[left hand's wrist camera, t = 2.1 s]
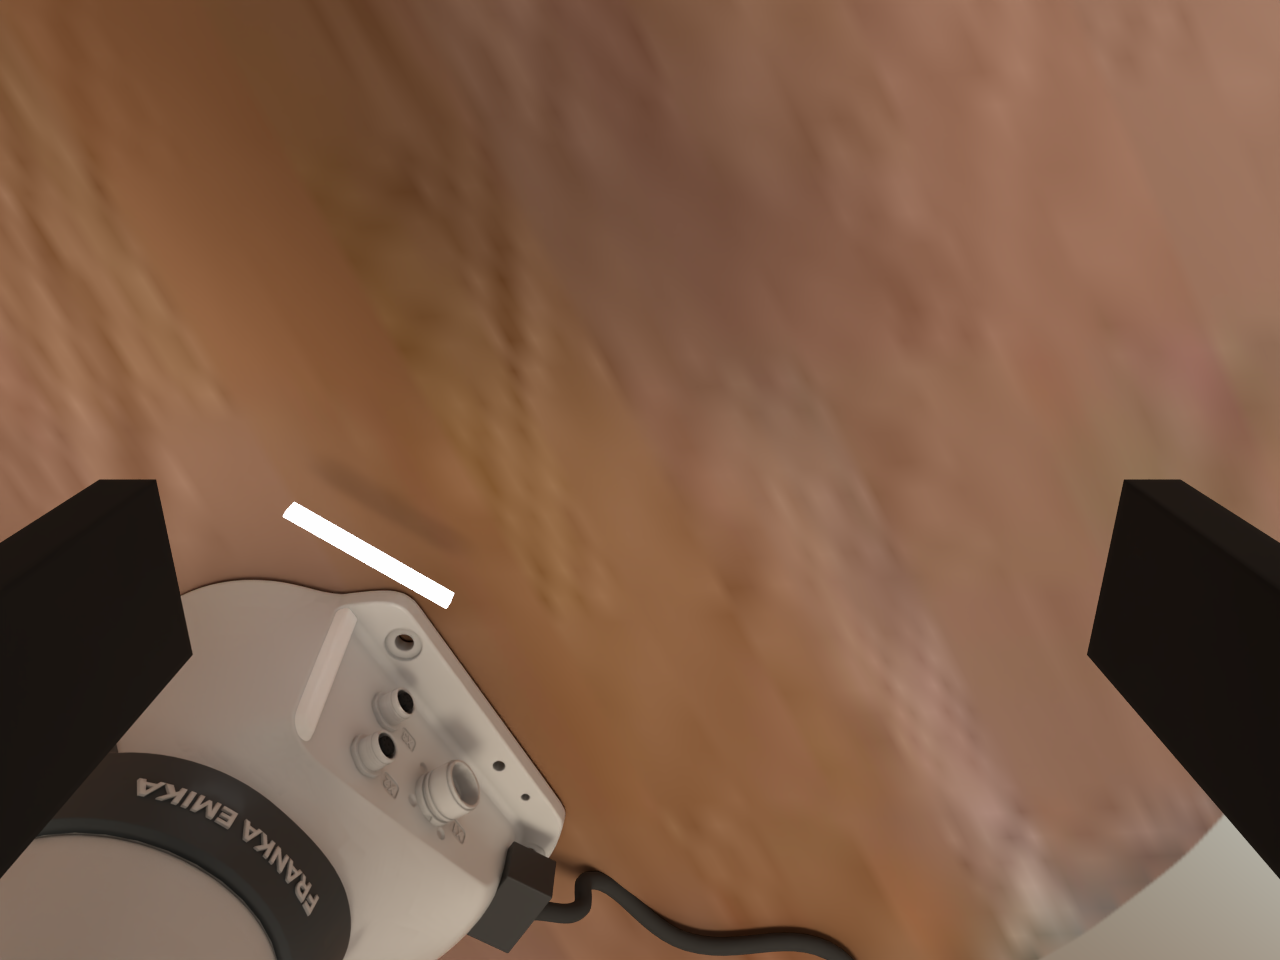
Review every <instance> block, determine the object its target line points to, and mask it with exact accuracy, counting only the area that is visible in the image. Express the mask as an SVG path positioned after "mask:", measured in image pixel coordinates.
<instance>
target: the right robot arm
mask: <svg viewBox="0 0 1280 960" xmlns="http://www.w3.org/2000/svg"><path fill="white" fill-rule="evenodd" d="M283 517H285V518H286V519H288V520H290V521H292V522H293V523H295V524H297V525H299V526H300V527H302V528H304V529H306V530H308V531H309V532H311V533H313V534H315V535H316V536H318V537H320V538H322V539H323V540H325V541H327V542H329V543H331V544H332V545H334V546H336V547H338V548H339V549H341V550H343V551H345V552H346V553H348V554H350V555H352V556H354V557H355V558H357V559H359V560H361V561H362V562H364V563H366V564H368V565H369V566H371V567H373V568H375V569H377V570H378V571H380V572H382V573H384V574H385V575H387V576H389V577H391V578H393V579H394V580H396V581H398V582H400V583H401V584H403V585H405V586H407V587H408V588H410V589H412V590H414V591H416V592H417V593H419V594H421V595H423V596H424V597H426V598H428V599H430V600H431V601H433V602H435V603H437V604H439V605H440V606H442V607H444V608H446V609H447V607H448V606H449V604H450V602H451V600H452V597H453V595H454V593H453V592H451V591H450V590H448V589H446V588H444V587H443V586H441V585H439V584H437V583H436V582H434V581H432V580H430V579H429V578H427V577H425V576H423V575H422V574H420V573H418V572H416V571H415V570H413V569H411V568H409V567H408V566H406V565H404V564H402V563H401V562H399V561H397V560H395V559H394V558H392V557H390V556H388V555H387V554H385V553H383V552H381V551H380V550H378V549H376V548H374V547H373V546H371V545H369V544H367V543H365V542H364V541H362V540H360V539H358V538H357V537H355V536H353V535H351V534H350V533H348V532H346V531H344V530H343V529H341V528H339V527H337V526H336V525H334V524H332V523H330V522H329V521H327V520H325V519H323V518H322V517H320V516H318V515H316V514H315V513H313V512H311V511H309V510H308V509H306V508H304V507H302V506H301V505H299V504H297V503H295V502H294V503H293V504H292V505H291V506H290V507H289V508H288V509H287V510H286V512H285V513H284V515H283ZM181 601H182V605H183V610H184V615H185V619H186V624H187V629H188V634H189V638H190V643H191V648H192V653H193V655H192V656H191V658H190V659H189V660H188V661H187V662H186V663H185V665H184V666H183V667H182V668H181V669H180V670H179V672H178V673H177V674H176V675H175V676H174V677H173V679H172V680H171V681H170V682H169V683H168V684H167V685H166V687H165V688H164V689H163V690H162V691H161V692H160V694H159V695H158V696H157V697H156V698H155V699H154V701H153V702H152V703H151V704H150V705H149V706H148V708H147V709H146V710H145V711H144V712H143V713H142V715H141V716H140V717H139V718H138V719H137V720H136V722H135V723H134V724H133V725H132V726H131V727H130V729H129V730H128V731H127V732H126V733H125V734H124V736H123V737H122V738H121V739H120V740H119V741H118V742H117V744H116V745H115V746H114V747H113V748H112V749H111V751H110V752H109V753H108V754H107V755H106V756H105V758H104V759H103V760H102V761H101V762H100V763H99V765H98V766H97V767H96V768H95V769H94V770H93V772H92V773H91V774H90V775H89V776H88V777H87V779H86V780H85V781H84V782H83V783H82V784H81V786H80V787H79V788H78V789H77V790H76V791H75V793H74V794H73V795H72V796H71V797H70V798H69V799H68V801H67V802H66V803H65V804H64V805H63V806H62V808H61V809H60V810H59V811H58V812H57V813H56V815H55V816H54V817H53V818H52V819H51V820H50V822H49V823H48V824H47V825H46V826H45V827H44V829H43V830H42V831H41V832H40V833H39V834H38V836H37V837H36V838H35V839H34V840H33V841H32V843H31V844H30V845H29V846H28V847H27V848H26V850H25V851H24V852H23V853H22V854H21V855H20V856H19V858H18V859H17V860H16V861H15V862H14V863H13V865H12V866H11V867H10V868H9V869H8V870H7V872H6V873H5V874H4V875H3V876H2V877H1V879H0V960H437V959H439V958H440V957H441V956H443V955H444V954H445V953H446V952H448V951H449V950H450V949H451V948H452V947H453V946H454V945H456V944H457V943H458V942H459V941H460V940H461V939H462V938H463V937H464V936H465V935H466V934H467V935H469V936H471V937H474V938H476V939H478V940H480V941H482V942H484V943H487V944H489V945H491V946H493V947H495V948H497V949H499V950H502V951H504V952H506V953H509V951H510V950H511V949H512V948H513V946H514V945H515V944H516V943H517V941H518V940H519V939H520V938H521V936H522V935H523V934H524V933H525V931H526V930H527V929H528V927H529V926H530V925H531V924H532V922H533V921H534V920H539V921H548V922H555V923H573V922H577V921H579V920H581V919H582V918H584V917H585V916H586V915H587V914H588V913H589V911H590V909H591V903H592V892H591V889H595V890H599V891H601V892H603V893H605V894H607V895H609V896H610V897H611V898H613V899H614V900H615V901H616V902H618V903H619V904H620V905H621V906H622V907H623V908H624V909H625V910H626V911H628V912H629V913H630V914H631V915H632V916H633V917H634V918H635V919H636V920H637V921H638V922H639V923H641V924H642V925H643V926H644V927H645V928H646V929H648V930H649V931H650V932H651V933H653V934H654V935H656V936H657V937H658V938H660V939H661V940H663V941H665V942H667V943H668V944H670V945H672V946H674V947H677V948H680V949H682V950H685V951H689V952H693V953H697V954H705V955H718V956H728V955H744V954H754V953H764V952H776V951H796V952H805V953H809V954H813V955H817V956H819V957H822V958H824V959H826V960H853V959H852V958H851V957H850V956H849V955H848V954H847V953H846V952H845V951H844V950H842V949H841V948H840V947H838V946H836V945H835V944H833V943H831V942H829V941H827V940H824V939H822V938H819V937H815V936H811V935H807V934H800V933H768V934H758V935H748V936H738V937H709V936H700V935H696V934H692V933H688V932H686V931H683V930H681V929H678V928H676V927H675V926H673V925H671V924H669V923H668V922H666V921H665V920H664V919H662V918H661V917H659V916H658V915H657V914H656V913H655V912H653V911H652V910H651V909H650V908H649V907H647V906H646V905H645V904H644V903H642V902H641V901H640V900H639V899H638V898H636V897H635V896H634V895H632V894H631V893H630V892H628V891H627V890H626V889H624V888H623V887H622V886H620V885H619V884H618V883H617V882H616V881H614V880H613V879H612V878H610V877H609V876H607V875H605V874H603V873H601V872H584V873H582V874H581V875H580V876H579V877H578V878H577V879H576V881H575V901H574V902H572V903H568V904H560V903H553V902H549V901H550V900H551V898H552V893H553V884H554V876H555V867H556V862H555V861H554V860H552V859H550V858H549V857H550V855H551V854H552V852H553V850H554V848H555V846H556V844H557V842H558V839H559V837H560V834H561V831H562V827H563V823H564V820H565V809H564V808H563V806H562V804H561V802H560V800H559V799H558V798H557V796H556V795H555V793H554V792H553V791H552V789H551V788H550V786H549V785H548V784H547V782H546V781H545V779H544V778H543V777H542V775H541V774H540V773H539V771H538V770H537V768H536V767H535V766H534V764H533V763H532V761H531V760H530V759H529V757H528V756H527V755H526V753H525V752H524V750H523V749H522V748H521V746H520V745H519V744H518V742H517V741H516V739H515V738H514V737H513V735H512V734H511V733H510V731H509V730H508V728H507V727H506V726H505V724H504V723H503V721H502V720H501V719H500V717H499V716H498V715H497V713H496V712H495V710H494V709H493V708H492V706H491V705H490V704H489V702H488V701H487V699H486V698H485V697H484V695H483V694H482V692H481V691H480V690H479V688H478V687H477V686H476V684H475V683H474V681H473V680H472V679H471V677H470V676H469V675H468V673H467V672H466V670H465V669H464V668H463V666H462V665H461V663H460V662H459V661H458V659H457V658H456V657H455V655H454V654H453V652H452V651H451V650H450V648H449V647H448V646H447V644H446V643H445V641H444V640H443V639H442V637H441V636H440V634H439V633H438V632H437V630H436V629H435V628H434V626H433V625H432V623H431V622H430V621H429V619H428V618H427V617H426V615H425V614H424V612H423V611H422V610H421V608H420V607H419V606H418V604H417V603H416V602H415V601H414V600H413V599H412V598H410V597H409V596H407V595H406V594H403V593H401V592H397V591H388V590H379V591H365V592H356V593H348V594H334V593H328V592H323V591H318V590H314V589H311V588H307V587H303V586H298V585H294V584H289V583H284V582H277V581H268V580H237V581H228V582H221V583H217V584H212V585H208V586H205V587H201V588H198V589H196V590H193V591H190V592H188V593H186V594H184V595H182V596H181ZM401 634H405V635H408V636H410V637H411V638H412V639H413V641H414V642H409V643H408V642H405V641H403V640H401V638H400V637H399V635H401ZM529 848H532V849H534V850H531V849H529Z"/></svg>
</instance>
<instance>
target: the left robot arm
mask: <svg viewBox="0 0 1280 960" xmlns="http://www.w3.org/2000/svg"><path fill="white" fill-rule="evenodd" d="M192 655H193V653H192V648H191V643H190V638H189V634H188V629H187V624H186V619H185V615H184V610H183V605H182V601H181V596H180V591H179V586H178V582H177V577H176V572H175V567H174V563H173V558H172V553H171V548H170V544H169V539H168V534H167V529H166V525H165V520H164V515H163V511H162V506H161V501H160V496H159V492H158V487H157V482H156V480H98V481H97V482H95V483H93V484H92V485H90V486H89V487H87V488H86V489H84V490H82V491H81V492H79V493H78V494H76V495H75V496H73V497H71V498H70V499H68V500H67V501H65V502H64V503H62V504H60V505H59V506H57V507H56V508H54V509H53V510H51V511H50V512H48V513H46V514H45V515H43V516H42V517H40V518H39V519H37V520H35V521H34V522H32V523H31V524H29V525H28V526H26V527H24V528H23V529H21V530H20V531H18V532H17V533H15V534H13V535H12V536H10V537H9V538H7V539H6V540H4V541H3V542H1V543H0V879H1V877H2V876H3V875H4V874H5V873H6V872H7V870H8V869H9V868H10V867H11V866H12V865H13V863H14V862H15V861H16V860H17V859H18V858H19V856H20V855H21V854H22V853H23V852H24V851H25V850H26V848H27V847H28V846H29V845H30V844H31V843H32V841H33V840H34V839H35V838H36V837H37V836H38V834H39V833H40V832H41V831H42V830H43V829H44V827H45V826H46V825H47V824H48V823H49V822H50V820H51V819H52V818H53V817H54V816H55V815H56V813H57V812H58V811H59V810H60V809H61V808H62V806H63V805H64V804H65V803H66V802H67V801H68V799H69V798H70V797H71V796H72V795H73V794H74V793H75V791H76V790H77V789H78V788H79V787H80V786H81V784H82V783H83V782H84V781H85V780H86V779H87V777H88V776H89V775H90V774H91V773H92V772H93V770H94V769H95V768H96V767H97V766H98V765H99V763H100V762H101V761H102V760H103V759H104V758H105V756H106V755H107V754H108V753H109V752H110V751H111V749H112V748H113V747H114V746H115V745H116V744H117V742H118V741H119V740H120V739H121V738H122V737H123V736H124V734H125V733H126V732H127V731H128V730H129V729H130V727H131V726H132V725H133V724H134V723H135V722H136V720H137V719H138V718H139V717H140V716H141V715H142V713H143V712H144V711H145V710H146V709H147V708H148V706H149V705H150V704H151V703H152V702H153V701H154V699H155V698H156V697H157V696H158V695H159V694H160V692H161V691H162V690H163V689H164V688H165V687H166V685H167V684H168V683H169V682H170V681H171V680H172V679H173V677H174V676H175V675H176V674H177V673H178V672H179V670H180V669H181V668H182V667H183V666H184V665H185V663H186V662H187V661H188V660H189V659H190V658H191V656H192ZM1087 655H1088V656H1089V658H1090V659H1091V660H1092V661H1093V662H1094V663H1095V665H1096V666H1097V667H1098V668H1099V669H1100V670H1101V672H1102V673H1103V674H1104V675H1105V676H1106V677H1107V679H1108V680H1109V681H1110V682H1111V683H1112V684H1113V685H1114V687H1115V688H1116V689H1117V690H1118V691H1119V692H1120V694H1121V695H1122V696H1123V697H1124V698H1125V699H1126V701H1127V702H1128V703H1129V704H1130V705H1131V706H1132V708H1133V709H1134V710H1135V711H1136V712H1137V713H1138V715H1139V716H1140V717H1141V718H1142V719H1143V720H1144V722H1145V723H1146V724H1147V725H1148V726H1149V727H1150V729H1151V730H1152V731H1153V732H1154V733H1155V734H1156V736H1157V737H1158V738H1159V739H1160V740H1161V741H1162V742H1163V744H1164V745H1165V746H1166V747H1167V748H1168V749H1169V751H1170V752H1171V753H1172V754H1173V755H1174V756H1175V758H1176V759H1177V760H1178V761H1179V762H1180V763H1181V765H1182V766H1183V767H1184V768H1185V769H1186V770H1187V772H1188V773H1189V774H1190V775H1191V776H1192V777H1193V779H1194V780H1195V781H1196V782H1197V783H1198V784H1199V786H1200V787H1201V788H1202V789H1203V790H1204V791H1205V793H1206V794H1207V795H1208V796H1209V797H1210V798H1211V799H1212V801H1213V802H1214V803H1215V804H1216V805H1217V806H1218V808H1219V809H1220V810H1221V811H1222V812H1223V813H1224V815H1225V816H1226V817H1227V818H1228V819H1229V820H1230V822H1231V823H1232V824H1233V825H1234V826H1235V827H1236V829H1237V830H1238V831H1239V832H1240V833H1241V834H1242V836H1243V837H1244V838H1245V839H1246V840H1247V841H1248V843H1249V844H1250V845H1251V846H1252V847H1253V848H1254V849H1255V851H1256V852H1257V853H1258V854H1259V855H1260V857H1261V858H1262V859H1263V860H1264V861H1265V862H1266V863H1267V865H1268V866H1269V867H1270V868H1271V869H1272V870H1273V872H1274V873H1275V874H1276V875H1277V876H1278V877H1279V879H1280V543H1279V542H1277V541H1276V540H1274V539H1273V538H1271V537H1270V536H1268V535H1267V534H1265V533H1263V532H1262V531H1260V530H1259V529H1257V528H1256V527H1254V526H1252V525H1251V524H1249V523H1248V522H1246V521H1245V520H1243V519H1241V518H1240V517H1238V516H1237V515H1235V514H1234V513H1232V512H1230V511H1229V510H1227V509H1226V508H1224V507H1223V506H1221V505H1220V504H1218V503H1216V502H1215V501H1213V500H1212V499H1210V498H1209V497H1207V496H1205V495H1204V494H1202V493H1201V492H1199V491H1198V490H1196V489H1194V488H1193V487H1191V486H1190V485H1188V484H1187V483H1185V482H1183V481H1182V480H1124V482H1123V487H1122V492H1121V496H1120V501H1119V506H1118V511H1117V515H1116V520H1115V525H1114V529H1113V534H1112V539H1111V544H1110V548H1109V553H1108V558H1107V563H1106V567H1105V572H1104V577H1103V582H1102V586H1101V591H1100V596H1099V601H1098V605H1097V610H1096V615H1095V619H1094V624H1093V629H1092V634H1091V638H1090V643H1089V648H1088V653H1087Z"/></svg>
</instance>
